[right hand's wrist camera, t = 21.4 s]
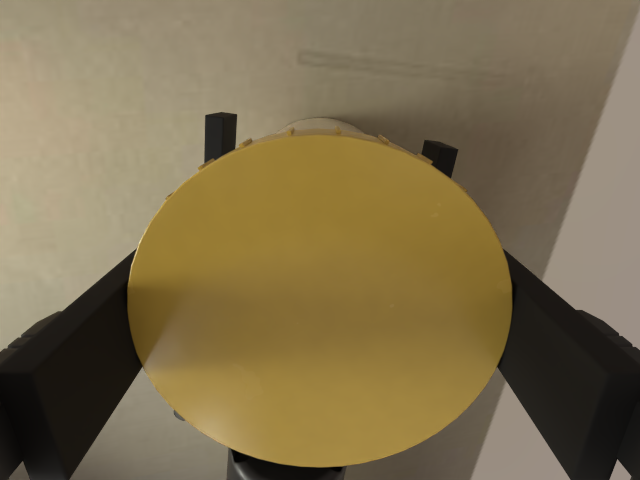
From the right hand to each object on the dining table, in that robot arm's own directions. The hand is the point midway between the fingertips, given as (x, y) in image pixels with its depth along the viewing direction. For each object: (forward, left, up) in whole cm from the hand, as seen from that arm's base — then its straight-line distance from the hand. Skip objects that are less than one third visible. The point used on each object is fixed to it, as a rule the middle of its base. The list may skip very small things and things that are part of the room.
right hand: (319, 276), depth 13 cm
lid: (0, 0, +3) cm, 3 cm away
